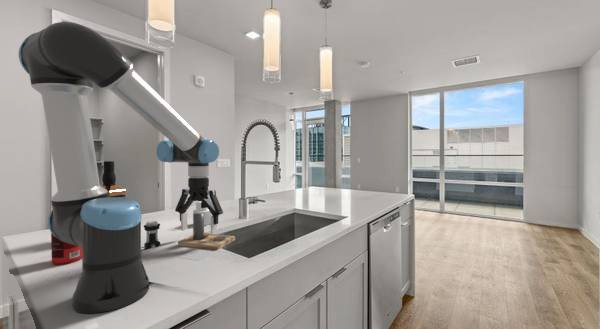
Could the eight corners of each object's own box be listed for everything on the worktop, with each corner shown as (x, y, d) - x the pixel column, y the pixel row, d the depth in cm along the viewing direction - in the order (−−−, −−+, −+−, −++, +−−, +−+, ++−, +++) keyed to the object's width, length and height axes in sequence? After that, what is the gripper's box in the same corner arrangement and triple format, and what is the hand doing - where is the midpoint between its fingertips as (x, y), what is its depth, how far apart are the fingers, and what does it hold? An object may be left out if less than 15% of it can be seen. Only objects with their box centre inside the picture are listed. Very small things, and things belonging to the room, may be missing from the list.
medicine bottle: (206, 221, 139) (206, 199, 138) (212, 224, 133) (212, 200, 133) (192, 223, 134) (192, 200, 134) (197, 226, 129) (197, 202, 128)
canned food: (87, 254, 91) (86, 223, 91) (77, 263, 84) (76, 229, 83) (59, 257, 88) (58, 225, 88) (46, 266, 81) (45, 231, 80)
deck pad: (199, 263, 84) (199, 260, 84) (178, 260, 87) (178, 257, 87) (214, 254, 92) (214, 251, 92) (194, 252, 94) (194, 249, 94)
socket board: (217, 252, 94) (217, 245, 94) (178, 247, 99) (178, 240, 99) (234, 242, 105) (234, 235, 105) (199, 238, 110) (199, 231, 110)
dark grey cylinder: (199, 246, 101) (199, 214, 101) (191, 244, 102) (190, 214, 102) (206, 242, 105) (206, 212, 104) (197, 241, 106) (197, 212, 106)
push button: (142, 254, 92) (142, 225, 92) (137, 250, 96) (137, 223, 95) (162, 249, 97) (162, 222, 97) (157, 245, 101) (157, 219, 100)
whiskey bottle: (107, 240, 106) (106, 161, 105) (88, 238, 109) (87, 161, 108) (129, 233, 116) (129, 161, 115) (112, 231, 119) (111, 160, 118)
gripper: (232, 177, 103) (231, 231, 103) (179, 175, 110) (179, 226, 110) (221, 178, 95) (220, 236, 96) (165, 176, 103) (165, 230, 103)
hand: (198, 231), depth 103 cm, fingers open, 13 cm apart
